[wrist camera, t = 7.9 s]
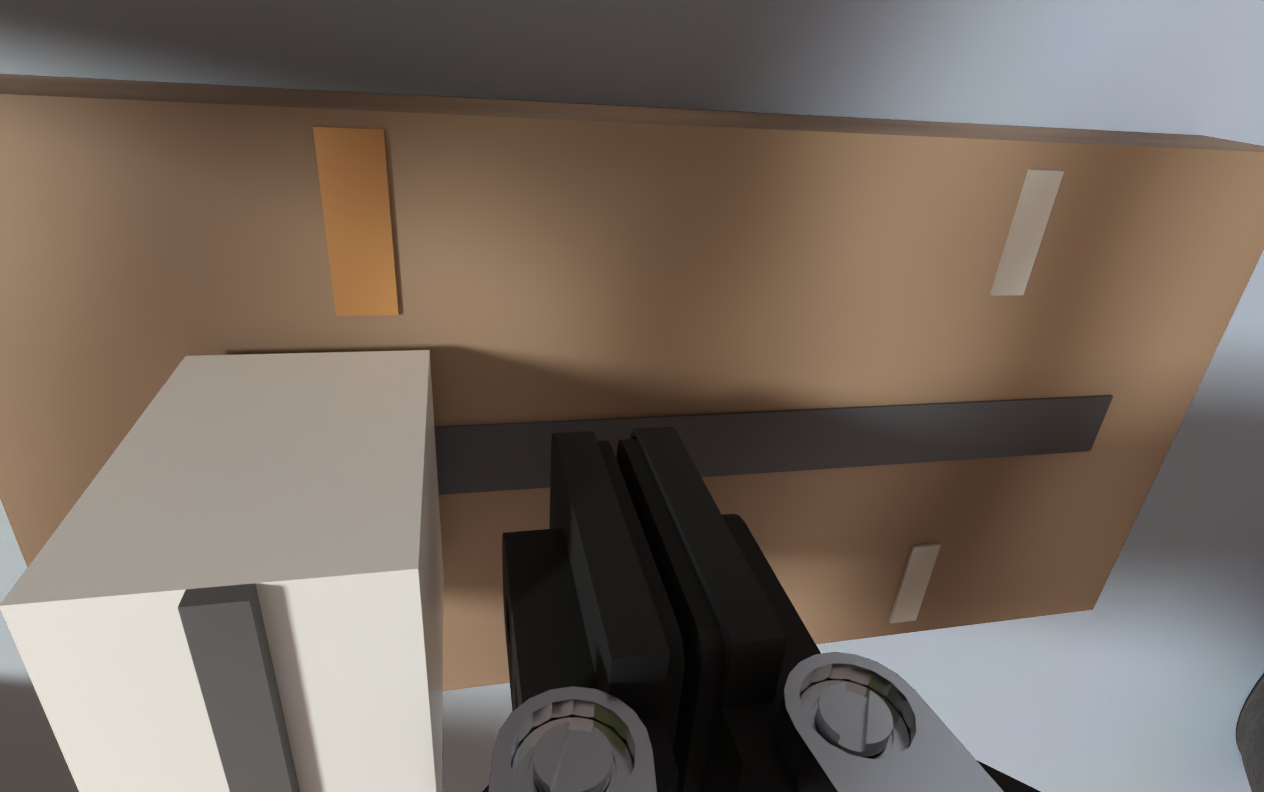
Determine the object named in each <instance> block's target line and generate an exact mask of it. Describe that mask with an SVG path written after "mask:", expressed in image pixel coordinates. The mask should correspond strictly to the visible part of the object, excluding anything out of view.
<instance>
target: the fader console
mask: <svg viewBox="0 0 1264 792" xmlns="http://www.w3.org/2000/svg"><path fill="white" fill-rule="evenodd" d="M1263 250H1264V146H1259V145H1253V144H1248V143H1242V142H1236V141H1230V140H1225V139H1219V138H1213V137H1207V136H1202V135H1182V134H1163V133H1143V132H1124V131H1104V130H1085V129H1065V128H1046V127H1026V126H1007V125H987V124H968V123H948V122H929V121H909V120H890V119H870V118H851V117H831V116H811V115H792V114H772V113H753V112H733V111H714V110H694V109H675V108H655V107H636V106H616V105H597V104H577V103H558V102H538V101H519V100H499V99H480V98H460V97H441V96H421V95H402V94H382V93H363V92H343V91H324V90H304V89H285V88H265V87H246V86H226V85H207V84H187V83H168V82H148V81H129V80H109V79H90V78H70V77H51V76H31V75H12V74H0V499H1V501H2V504H3V506H4V509H5V511H6V514H7V517H8V519H9V522H10V524H11V527H12V529H13V532H14V534H15V537H16V539H17V542H18V544H19V547H20V550H21V552H22V555H23V557H24V560H25V562H26V565H27V567H28V566H29V565H30V564H31V562H32V561H33V560H34V558H35V557H36V556H37V554H38V553H39V552H40V550H41V549H42V548H43V546H44V545H45V544H46V542H47V541H48V540H49V538H50V537H51V536H52V534H53V533H54V532H55V530H56V529H57V528H58V526H59V525H60V524H61V522H62V521H63V520H64V518H65V517H66V516H67V514H68V513H69V511H70V510H71V509H72V507H73V506H74V505H75V503H76V502H77V501H78V499H79V498H80V497H81V495H82V494H83V493H84V491H85V490H86V489H87V487H88V486H89V485H90V483H91V482H92V481H93V479H94V478H95V477H96V475H97V474H98V473H99V471H100V470H101V469H102V467H103V466H104V465H105V463H106V462H107V461H108V459H109V458H110V457H111V455H112V454H113V452H114V451H115V450H116V448H117V447H118V446H119V444H120V443H121V442H122V440H123V439H124V438H125V436H126V435H127V434H128V432H129V431H130V430H131V428H132V427H133V426H134V424H135V423H136V422H137V420H138V419H139V418H140V416H141V415H142V414H143V412H144V411H145V410H146V408H147V407H148V406H149V404H150V403H151V402H152V400H153V399H154V398H155V396H156V395H157V393H158V392H159V391H160V389H161V388H162V387H163V385H164V384H165V383H166V381H167V380H168V379H169V377H170V376H171V375H172V373H173V372H174V371H175V369H176V368H177V367H178V365H179V364H180V363H181V361H182V360H183V359H184V357H185V356H201V355H243V354H284V353H326V352H368V351H409V350H430V364H431V381H432V397H433V413H434V429H435V445H436V462H437V478H438V494H439V510H440V526H441V543H442V559H443V575H444V592H443V691H447V690H455V689H463V688H471V687H479V686H487V685H495V684H503V683H510V678H509V667H508V657H507V646H506V634H505V620H504V602H503V570H502V534H503V533H506V532H518V531H530V530H542V529H549V524H550V473H551V439H552V434H553V433H557V432H576V431H593V432H594V434H595V436H596V439H597V441H602V440H609V442H610V444H611V446H612V449H613V452H614V454H615V457H616V456H617V445H618V441H619V440H620V439H630V436H631V433H632V430H633V429H634V428H651V427H670V426H671V427H674V428H675V430H676V431H677V433H678V435H679V437H680V439H681V440H682V442H683V444H684V446H685V448H686V450H687V452H688V453H689V455H690V457H691V459H692V461H693V463H694V465H695V466H696V468H697V470H698V472H699V474H700V476H701V477H702V479H703V481H704V483H705V485H706V487H707V489H708V490H709V492H710V494H711V496H712V498H713V500H714V501H715V503H716V505H717V507H718V509H719V511H720V513H721V514H722V515H724V514H737V515H739V516H740V517H741V518H742V519H743V520H744V522H745V523H746V525H747V526H748V528H749V530H750V532H751V533H752V535H753V537H754V539H755V540H756V542H757V544H758V545H759V547H760V549H761V551H762V552H763V554H764V556H765V558H766V559H767V561H768V563H769V564H770V566H771V568H772V570H773V571H774V573H775V575H776V577H777V578H778V580H779V582H780V584H781V585H782V587H783V589H784V590H785V592H786V594H787V596H788V597H789V599H790V601H791V603H792V604H793V606H794V608H795V609H796V611H797V613H798V615H799V616H800V618H801V620H802V622H803V623H804V625H805V627H806V628H807V630H808V632H809V634H810V635H811V637H812V639H813V641H814V642H815V644H821V643H829V642H837V641H845V640H853V639H861V638H869V637H877V636H885V635H893V634H901V633H909V632H917V631H925V630H933V629H941V628H949V627H956V626H964V625H972V624H980V623H988V622H996V621H1004V620H1012V619H1020V618H1028V617H1036V616H1044V615H1052V614H1060V613H1068V612H1076V611H1084V610H1092V609H1093V608H1094V606H1095V604H1096V602H1097V600H1098V597H1099V595H1100V593H1101V591H1102V589H1103V587H1104V585H1105V583H1106V581H1107V578H1108V576H1109V574H1110V572H1111V570H1112V568H1113V566H1114V564H1115V562H1116V559H1117V557H1118V555H1119V553H1120V551H1121V549H1122V547H1123V545H1124V543H1125V541H1126V538H1127V536H1128V534H1129V532H1130V530H1131V528H1132V526H1133V524H1134V522H1135V519H1136V517H1137V515H1138V513H1139V511H1140V509H1141V507H1142V505H1143V503H1144V500H1145V498H1146V496H1147V494H1148V492H1149V490H1150V488H1151V486H1152V484H1153V482H1154V479H1155V477H1156V475H1157V473H1158V471H1159V469H1160V467H1161V465H1162V463H1163V460H1164V458H1165V456H1166V454H1167V452H1168V450H1169V448H1170V446H1171V444H1172V442H1173V439H1174V437H1175V435H1176V433H1177V431H1178V429H1179V427H1180V425H1181V423H1182V420H1183V418H1184V416H1185V414H1186V412H1187V410H1188V408H1189V406H1190V404H1191V401H1192V399H1193V397H1194V395H1195V393H1196V391H1197V389H1198V387H1199V385H1200V382H1201V380H1202V378H1203V376H1204V374H1205V372H1206V370H1207V368H1208V366H1209V364H1210V361H1211V359H1212V357H1213V355H1214V353H1215V351H1216V349H1217V347H1218V345H1219V342H1220V340H1221V338H1222V336H1223V334H1224V332H1225V330H1226V328H1227V326H1228V324H1229V321H1230V319H1231V317H1232V315H1233V313H1234V311H1235V309H1236V307H1237V305H1238V302H1239V300H1240V298H1241V296H1242V294H1243V292H1244V290H1245V288H1246V286H1247V283H1248V281H1249V279H1250V277H1251V275H1252V273H1253V271H1254V269H1255V267H1256V265H1257V262H1258V260H1259V258H1260V256H1261V254H1262V252H1263Z"/></svg>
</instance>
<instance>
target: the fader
mask: <svg viewBox="0 0 1264 792" xmlns="http://www.w3.org/2000/svg"><path fill="white" fill-rule="evenodd" d="M443 592H444V575H443V559H442V543H441V526H440V510H439V494H438V478H437V462H436V445H435V429H434V413H433V397H432V381H431V364H430V350H409V351H368V352H326V353H284V354H243V355H201V356H185V357H184V359H183V360H182V361H181V363H180V364H179V365H178V367H177V368H176V369H175V371H174V372H173V373H172V375H171V376H170V377H169V379H168V380H167V381H166V383H165V384H164V385H163V387H162V388H161V389H160V391H159V392H158V393H157V395H156V396H155V398H154V399H153V400H152V402H151V403H150V404H149V406H148V407H147V408H146V410H145V411H144V412H143V414H142V415H141V416H140V418H139V419H138V420H137V422H136V423H135V424H134V426H133V427H132V428H131V430H130V431H129V432H128V434H127V435H126V436H125V438H124V439H123V440H122V442H121V443H120V444H119V446H118V447H117V448H116V450H115V451H114V452H113V454H112V455H111V457H110V458H109V459H108V461H107V462H106V463H105V465H104V466H103V467H102V469H101V470H100V471H99V473H98V474H97V475H96V477H95V478H94V479H93V481H92V482H91V483H90V485H89V486H88V487H87V489H86V490H85V491H84V493H83V494H82V495H81V497H80V498H79V499H78V501H77V502H76V503H75V505H74V506H73V507H72V509H71V510H70V511H69V513H68V514H67V516H66V517H65V518H64V520H63V521H62V522H61V524H60V525H59V526H58V528H57V529H56V530H55V532H54V533H53V534H52V536H51V537H50V538H49V540H48V541H47V542H46V544H45V545H44V546H43V548H42V549H41V550H40V552H39V553H38V554H37V556H36V557H35V558H34V560H33V561H32V562H31V564H30V565H29V566H28V568H27V569H26V570H25V572H24V573H23V575H22V576H21V577H20V579H19V580H18V581H17V583H16V584H15V585H14V587H13V588H12V589H11V591H10V592H9V593H8V595H7V596H6V597H5V599H4V600H3V601H2V603H1V604H0V609H1V612H2V614H3V616H4V619H5V621H6V623H7V626H8V628H9V630H10V632H11V635H12V637H13V639H14V642H15V644H16V646H17V649H18V651H19V653H20V656H21V658H22V660H23V663H24V665H25V667H26V670H27V672H28V674H29V677H30V679H31V681H32V684H33V686H34V688H35V691H36V693H37V695H38V698H39V700H40V702H41V704H42V707H43V709H44V711H45V714H46V716H47V718H48V721H49V723H50V725H51V728H52V730H53V732H54V735H55V737H56V739H57V742H58V744H59V746H60V749H61V751H62V753H63V756H64V758H65V760H66V763H67V765H68V767H69V770H70V772H71V774H72V776H73V779H74V781H75V783H76V786H77V788H78V790H79V792H442V737H443Z"/></svg>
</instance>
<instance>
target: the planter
mask: <svg viewBox="0 0 1264 792" xmlns="http://www.w3.org/2000/svg"><path fill="white" fill-rule="evenodd" d="M1236 740H1237V745H1238V749H1239V751H1240V752H1241V755H1242V759H1243V764H1244V768H1245V771H1246V774H1247V778H1248V781H1249V784H1250V787H1251V790H1252V792H1264V675H1263V677H1262V678H1261V679H1260V680H1259V682H1258V683H1257V685H1256V686H1255V688H1254V689H1253V691H1252V693H1251V694H1250V696H1249V697H1248V699H1247V701H1246V703H1245V705H1244V707H1243V710H1242V712H1241V714H1240V717H1239V721H1238V725H1237V732H1236Z"/></svg>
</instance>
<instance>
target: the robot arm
mask: <svg viewBox="0 0 1264 792" xmlns="http://www.w3.org/2000/svg"><path fill="white" fill-rule="evenodd" d="M502 570H503V602H504V620H505V634H506V646H507V657H508V667H509V678H510V689H511V699H512V710H513V712H512V713H511V714H510V716H509V717H508V719H507V720H506V722H505V723H504V724H503V726H502V727H501V729H500V730H499V733H498V736H497V740H496V743H495V747H494V750H493V755H492V764H491V774H490V783H489V785H488V786H487V787H486V788H485V789H484V791H483V792H1040V791H1038V790H1036V789H1034V788H1032V787H1030V786H1028V785H1026V784H1024V783H1022V782H1020V781H1018V780H1016V779H1014V778H1012V777H1010V776H1008V775H1006V774H1004V773H1002V772H1000V771H997V770H995V769H993V768H991V767H989V766H987V765H985V764H983V763H981V762H979V761H977V760H976V759H975V758H974V757H973V756H972V755H971V754H970V752H969V751H968V750H967V749H966V748H965V747H964V746H963V744H962V743H961V742H960V741H959V740H958V739H957V738H956V736H955V735H954V734H953V733H952V732H951V731H950V730H949V728H948V727H947V726H946V725H945V724H944V723H943V722H942V720H941V719H940V718H939V717H938V716H937V715H936V714H935V712H934V711H933V710H932V709H931V708H930V707H929V705H928V704H927V703H926V702H925V701H924V700H923V699H922V697H921V696H920V695H919V694H918V693H917V692H916V691H915V689H913V688H912V687H911V686H910V685H909V684H908V683H907V682H906V681H905V680H904V679H903V678H901V677H900V676H899V675H898V674H897V673H895V672H893V671H892V670H890V669H888V668H887V667H885V666H883V665H882V664H880V663H878V662H876V661H873V660H870V659H867V658H865V657H862V656H859V655H856V654H848V653H840V652H830V653H822V654H821V653H820V651H819V649H818V647H817V646H816V644H815V642H814V641H813V639H812V637H811V635H810V634H809V632H808V630H807V628H806V627H805V625H804V623H803V622H802V620H801V618H800V616H799V615H798V613H797V611H796V609H795V608H794V606H793V604H792V603H791V601H790V599H789V597H788V596H787V594H786V592H785V590H784V589H783V587H782V585H781V584H780V582H779V580H778V578H777V577H776V575H775V573H774V571H773V570H772V568H771V566H770V564H769V563H768V561H767V559H766V558H765V556H764V554H763V552H762V551H761V549H760V547H759V545H758V544H757V542H756V540H755V539H754V537H753V535H752V533H751V532H750V530H749V528H748V526H747V525H746V523H745V522H744V520H743V519H742V518H741V517H740V516H739V515H737V514H724V515H722V514H721V513H720V511H719V509H718V507H717V505H716V503H715V501H714V500H713V498H712V496H711V494H710V492H709V490H708V489H707V487H706V485H705V483H704V481H703V479H702V477H701V476H700V474H699V472H698V470H697V468H696V466H695V465H694V463H693V461H692V459H691V457H690V455H689V453H688V452H687V450H686V448H685V446H684V444H683V442H682V440H681V439H680V437H679V435H678V433H677V431H676V430H675V428H674V427H671V426H670V427H651V428H634V429H633V430H632V433H631V436H630V439H620V440H619V441H618V445H617V456H616V457H615V454H614V452H613V449H612V446H611V444H610V442H609V440H602V441H597V439H596V436H595V434H594V432H593V431H576V432H557V433H553V434H552V439H551V473H550V524H549V529H542V530H530V531H518V532H506V533H503V534H502Z"/></svg>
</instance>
